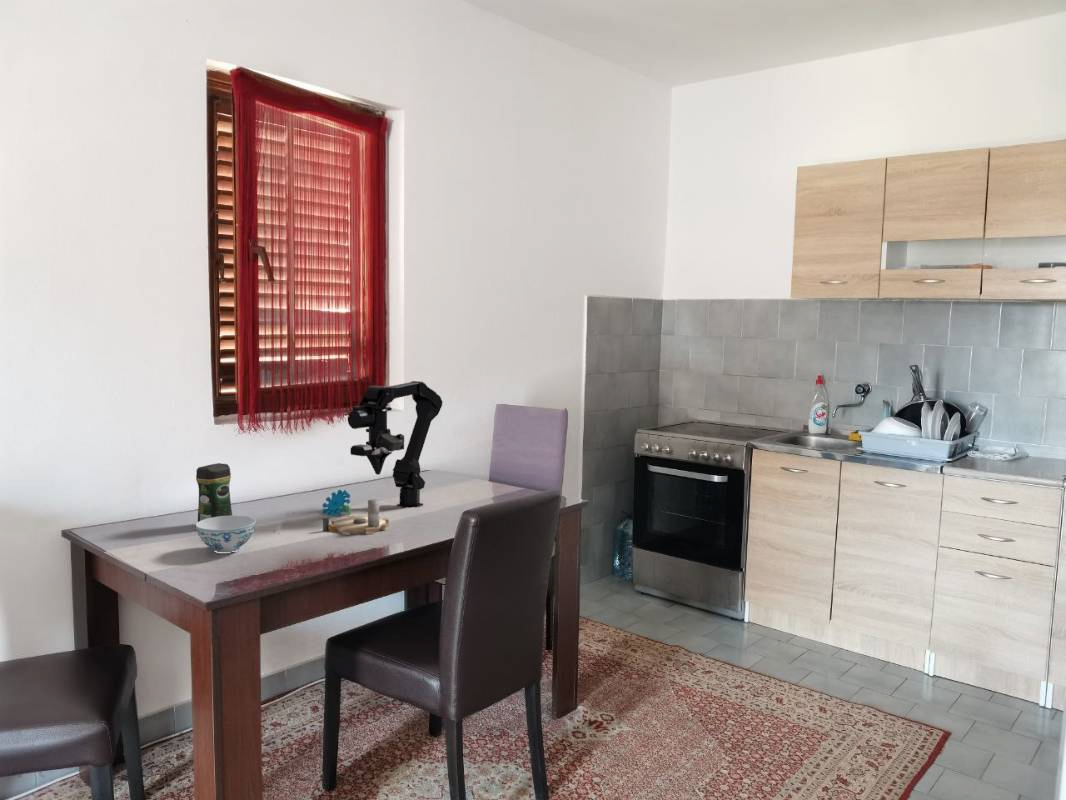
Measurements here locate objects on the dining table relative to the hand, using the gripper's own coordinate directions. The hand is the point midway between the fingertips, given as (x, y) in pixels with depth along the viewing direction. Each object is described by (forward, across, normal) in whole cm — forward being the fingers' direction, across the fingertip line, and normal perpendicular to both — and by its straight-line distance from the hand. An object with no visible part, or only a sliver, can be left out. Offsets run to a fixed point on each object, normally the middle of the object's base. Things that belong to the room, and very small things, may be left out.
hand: (378, 474), depth 258 cm
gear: (+13, -8, +10) cm, 18 cm away
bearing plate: (+13, -16, -8) cm, 23 cm away
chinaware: (+13, -53, +4) cm, 55 cm away
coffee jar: (+13, -39, +29) cm, 50 cm away
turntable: (+12, -16, -8) cm, 22 cm away
